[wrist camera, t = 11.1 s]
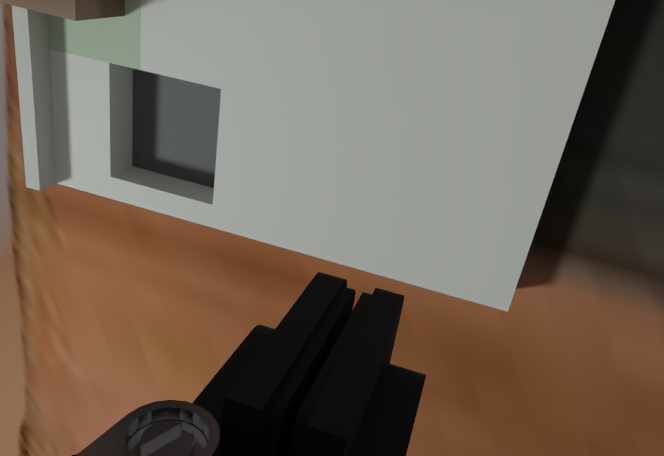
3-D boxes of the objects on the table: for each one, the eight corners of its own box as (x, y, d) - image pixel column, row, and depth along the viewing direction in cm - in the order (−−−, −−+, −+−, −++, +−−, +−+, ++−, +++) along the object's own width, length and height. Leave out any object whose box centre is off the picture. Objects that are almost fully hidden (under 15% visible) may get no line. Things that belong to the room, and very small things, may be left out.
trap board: (508, 290, 34) (507, 326, 31) (69, 168, 40) (26, 186, 36) (696, -265, 23) (729, -309, 19) (48, -323, 29) (-18, -365, 25)
